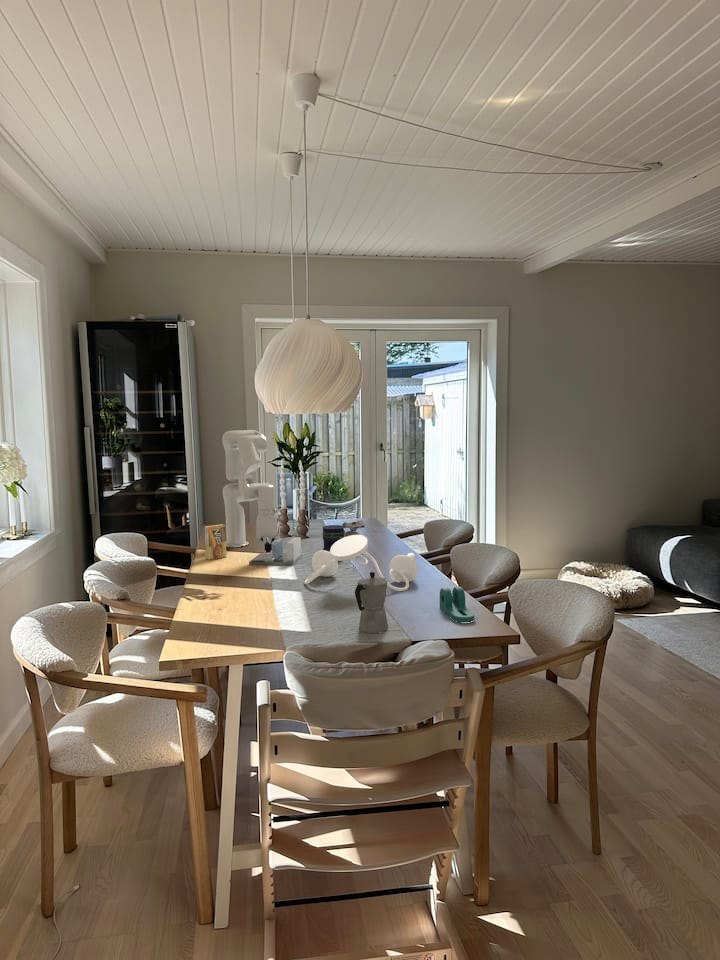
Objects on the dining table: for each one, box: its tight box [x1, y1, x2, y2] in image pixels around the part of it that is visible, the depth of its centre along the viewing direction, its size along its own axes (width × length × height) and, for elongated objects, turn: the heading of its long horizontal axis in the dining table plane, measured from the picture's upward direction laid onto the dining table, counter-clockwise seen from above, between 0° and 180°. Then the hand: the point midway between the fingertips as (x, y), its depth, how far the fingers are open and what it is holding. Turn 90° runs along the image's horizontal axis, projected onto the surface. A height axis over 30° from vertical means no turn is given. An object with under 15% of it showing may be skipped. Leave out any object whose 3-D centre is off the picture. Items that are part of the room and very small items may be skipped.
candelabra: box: [303, 534, 419, 592], centre depth 268 cm, size 20×45×37 cm
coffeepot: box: [354, 571, 389, 634], centre depth 210 cm, size 15×9×18 cm, turn 144°
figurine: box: [341, 519, 366, 537], centre depth 326 cm, size 9×12×15 cm
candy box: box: [204, 523, 227, 561], centre depth 318 cm, size 9×4×15 cm, turn 129°
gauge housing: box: [248, 536, 303, 566], centre depth 310 cm, size 18×20×10 cm
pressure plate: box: [271, 538, 284, 560], centre depth 308 cm, size 14×2×7 cm, turn 172°
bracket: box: [439, 586, 475, 622], centre depth 223 cm, size 18×7×8 cm, turn 11°
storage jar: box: [322, 524, 345, 552], centre depth 310 cm, size 10×10×15 cm
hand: (268, 551), depth 310 cm, fingers closed
